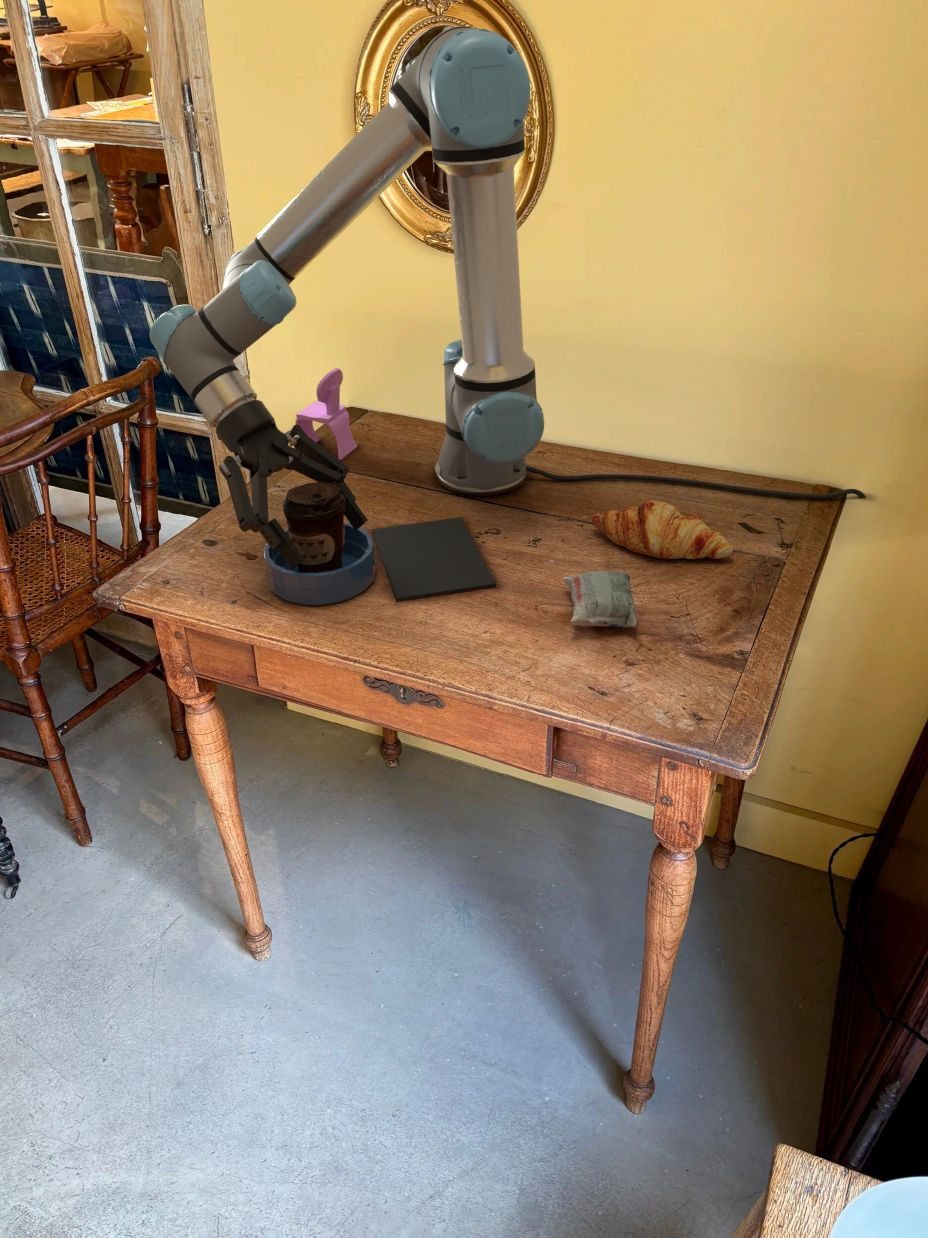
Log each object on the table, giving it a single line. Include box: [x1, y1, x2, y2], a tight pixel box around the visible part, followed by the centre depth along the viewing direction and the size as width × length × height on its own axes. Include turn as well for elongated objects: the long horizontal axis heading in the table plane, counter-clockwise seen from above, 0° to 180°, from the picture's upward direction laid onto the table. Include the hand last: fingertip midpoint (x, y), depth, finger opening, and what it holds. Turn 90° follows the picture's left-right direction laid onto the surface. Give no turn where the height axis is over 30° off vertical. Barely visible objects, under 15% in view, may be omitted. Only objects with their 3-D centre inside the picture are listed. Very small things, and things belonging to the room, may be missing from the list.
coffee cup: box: [282, 481, 345, 573], centre depth 128 cm, size 9×8×13 cm
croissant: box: [591, 499, 734, 560], centre depth 136 cm, size 21×10×8 cm, turn 65°
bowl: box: [263, 522, 377, 606], centre depth 131 cm, size 15×15×5 cm
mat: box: [372, 516, 497, 603], centre depth 136 cm, size 14×20×1 cm
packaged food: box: [562, 570, 638, 628], centre depth 122 cm, size 9×12×5 cm
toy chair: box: [294, 367, 358, 461], centre depth 164 cm, size 8×9×15 cm
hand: (331, 544), depth 128 cm, fingers open, 12 cm apart
